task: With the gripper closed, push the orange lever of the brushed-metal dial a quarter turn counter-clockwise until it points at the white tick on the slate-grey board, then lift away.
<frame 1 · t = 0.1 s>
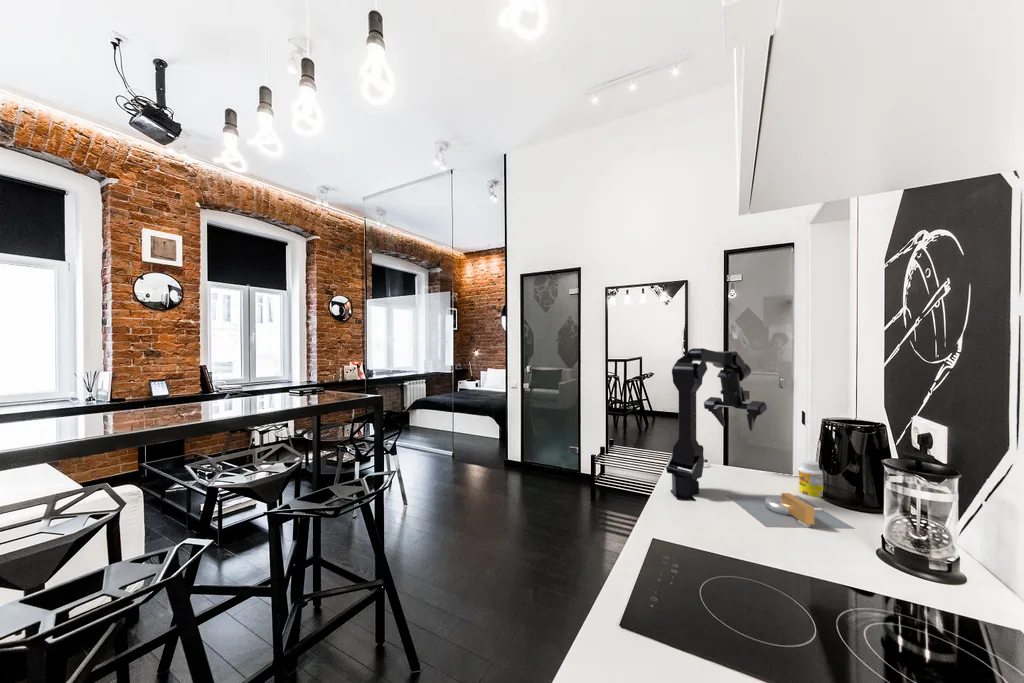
hand: (737, 428, 134), 15 cm above the kitchen counter, tool pointing down, fingers open, 9 cm apart
board: (783, 514, 101), on the kitchen counter
supplement bottle: (811, 498, 111), on the kitchen counter
dial: (790, 505, 98), point 4 cm above the kitchen counter, hinge at 0.0°
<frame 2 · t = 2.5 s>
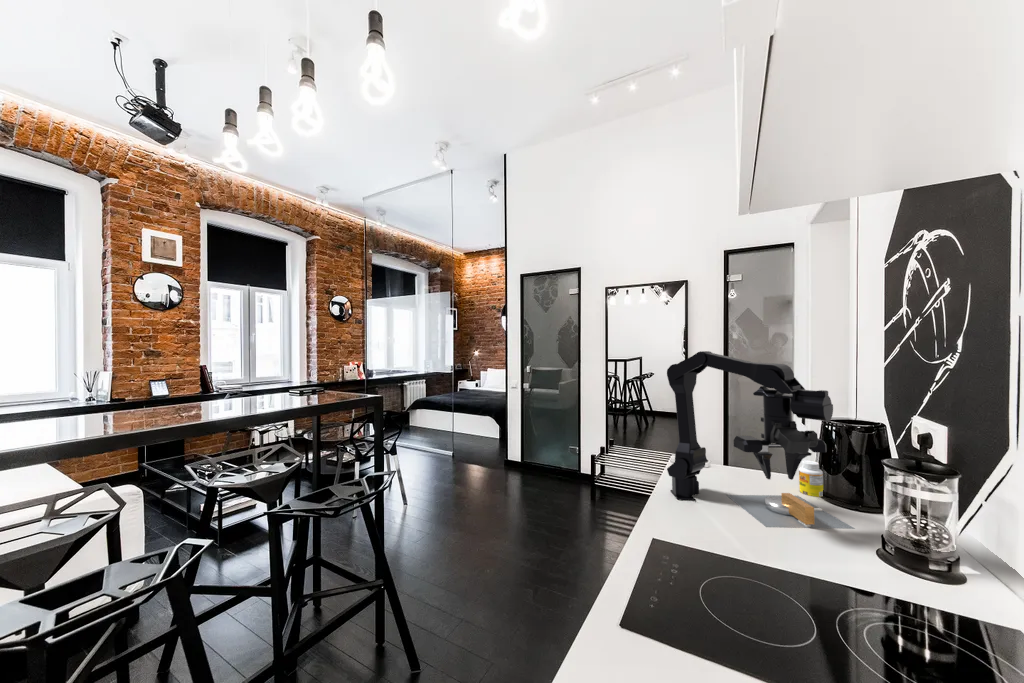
hand: (779, 479, 93), 12 cm above the kitchen counter, tool pointing down, fingers open, 5 cm apart
nothing on the kitchen counter moved.
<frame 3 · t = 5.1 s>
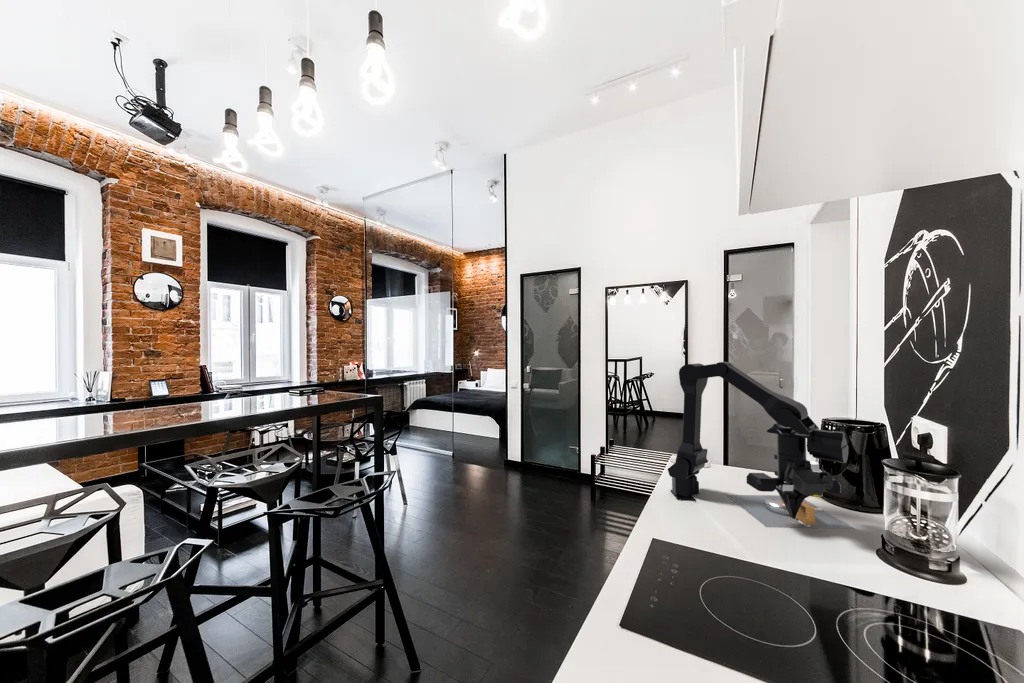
hand: (792, 517, 93), 3 cm above the kitchen counter, tool pointing down, fingers closed
dial: (790, 505, 98), point 4 cm above the kitchen counter, hinge at 0.6°, touching gripper
everything else where it was.
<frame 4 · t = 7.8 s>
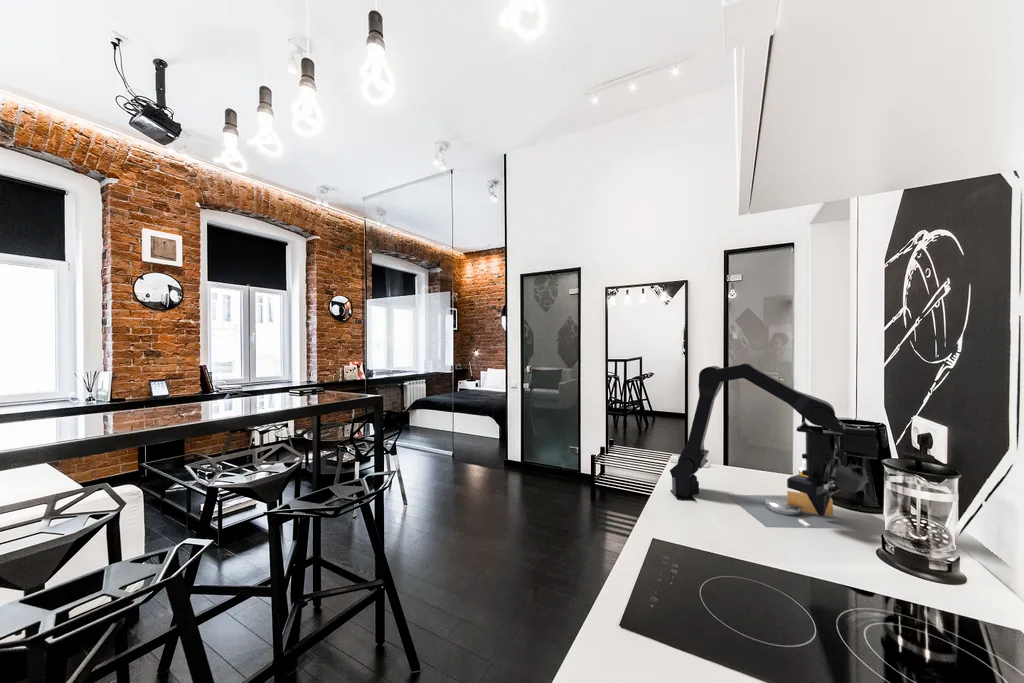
hand: (821, 515, 94), 3 cm above the kitchen counter, tool pointing down, fingers closed
dial: (797, 502, 99), point 4 cm above the kitchen counter, hinge at 63.3°, touching gripper
everything else where it was.
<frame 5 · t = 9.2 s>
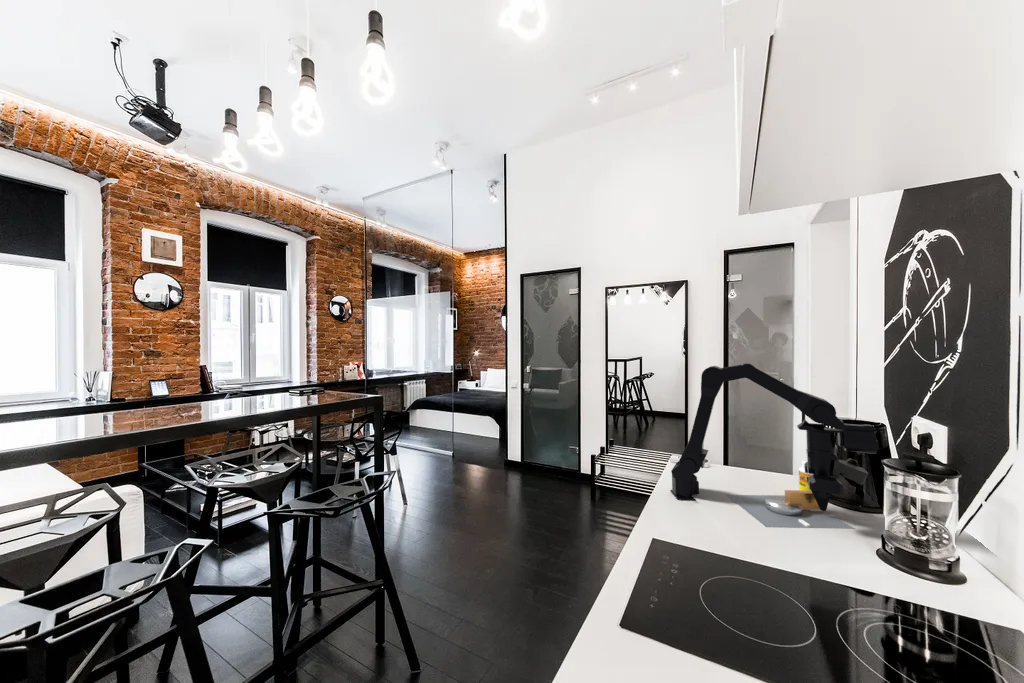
hand: (823, 510, 96), 3 cm above the kitchen counter, tool pointing down, fingers closed
dial: (795, 500, 100), point 4 cm above the kitchen counter, hinge at 88.9°, touching gripper
everything else where it was.
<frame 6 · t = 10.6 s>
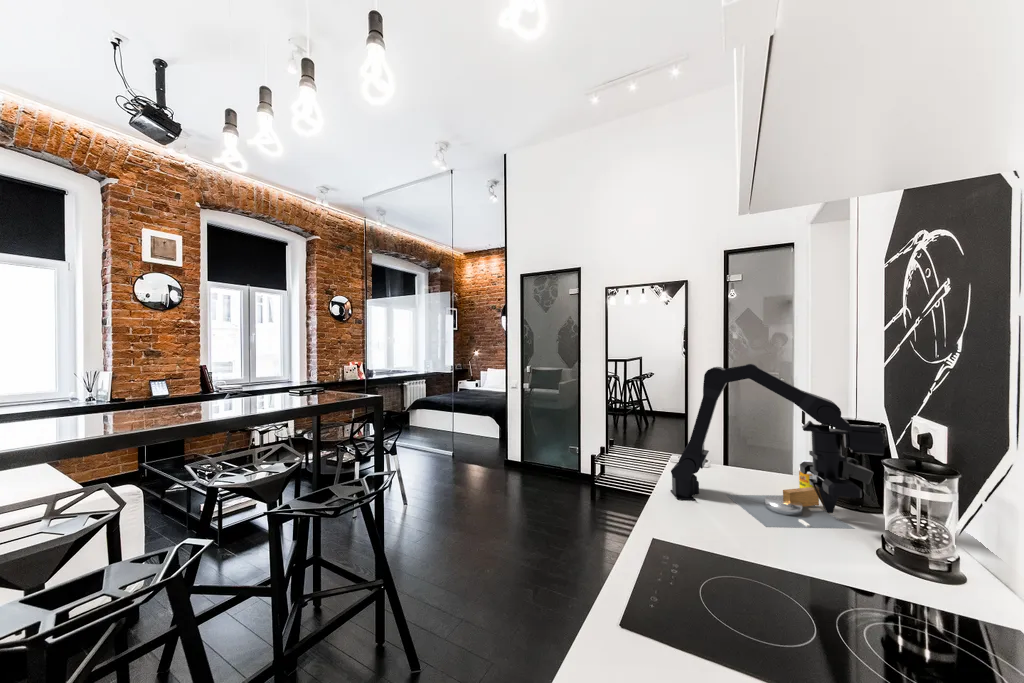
hand: (829, 512, 95), 3 cm above the kitchen counter, tool pointing down, fingers closed
dial: (792, 499, 101), point 4 cm above the kitchen counter, hinge at 104.6°
everything else where it was.
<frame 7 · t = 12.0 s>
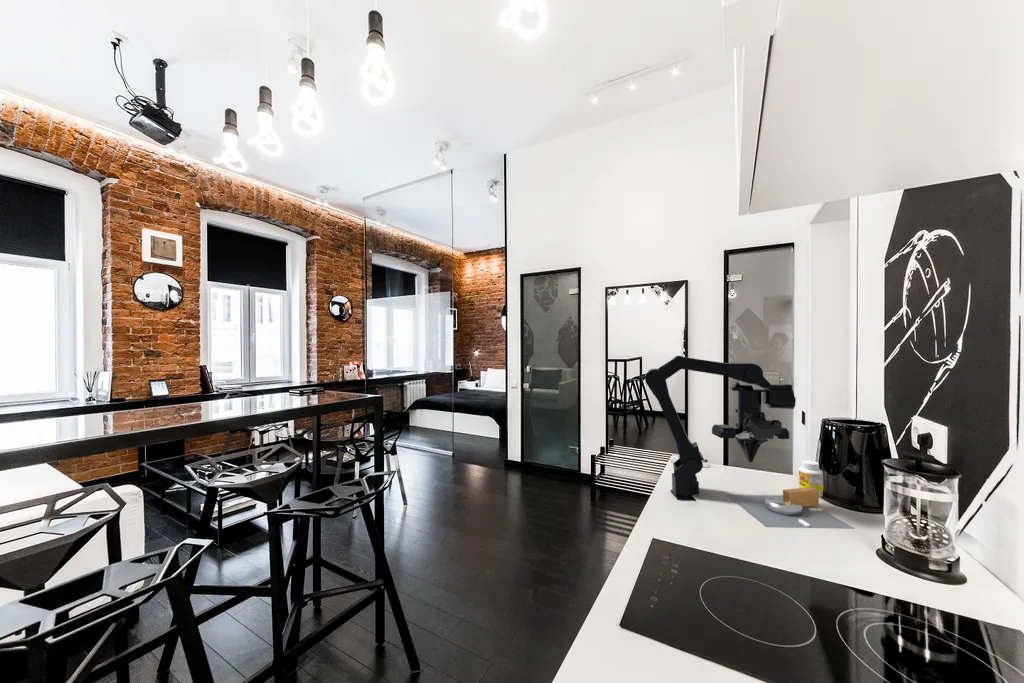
hand: (749, 461, 108), 12 cm above the kitchen counter, tool pointing down, fingers closed
nothing on the kitchen counter moved.
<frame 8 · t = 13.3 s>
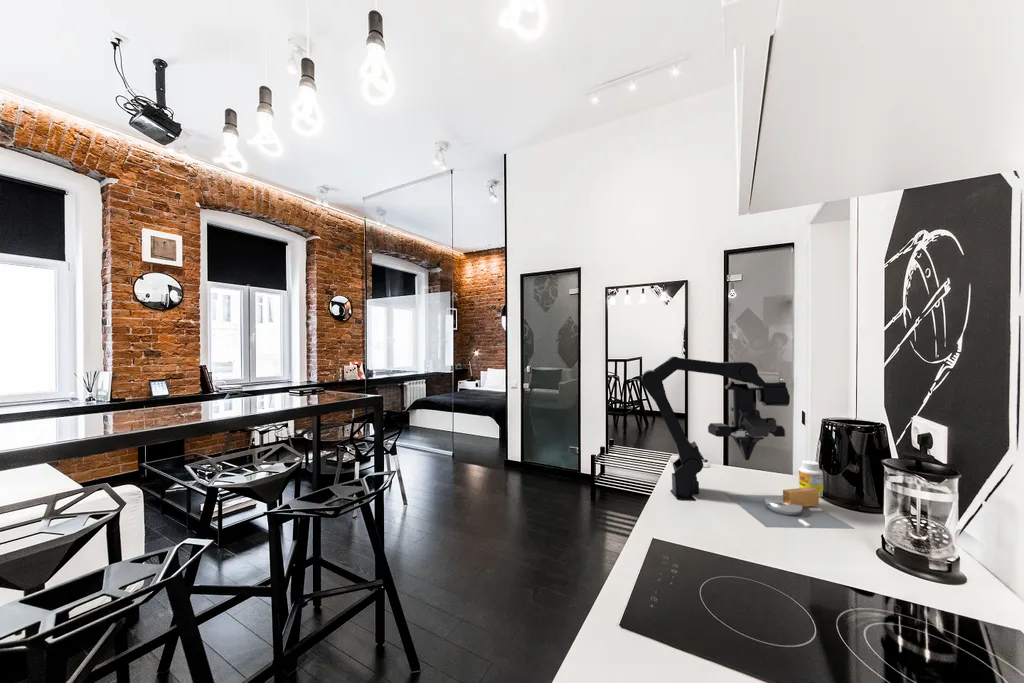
hand: (746, 459, 109), 12 cm above the kitchen counter, tool pointing down, fingers closed
nothing on the kitchen counter moved.
at the end: dial at +105° (first picture: +0°) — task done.
